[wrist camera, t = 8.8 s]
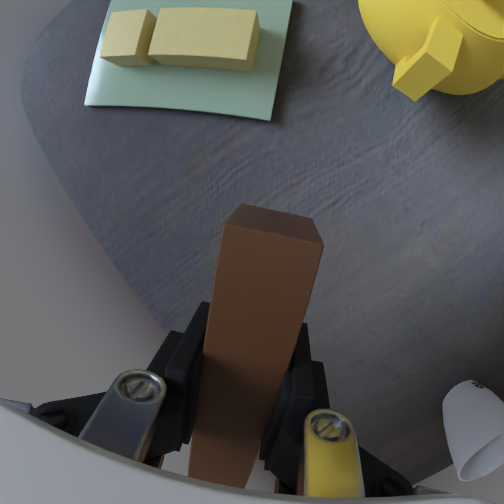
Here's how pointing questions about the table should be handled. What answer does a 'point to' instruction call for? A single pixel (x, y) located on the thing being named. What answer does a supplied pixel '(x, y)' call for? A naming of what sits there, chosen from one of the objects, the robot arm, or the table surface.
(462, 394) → the cup
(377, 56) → the table surface
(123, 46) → the block
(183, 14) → the butter block
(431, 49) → the teapot
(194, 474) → the knife
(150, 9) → the butter dish
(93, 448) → the robot arm
